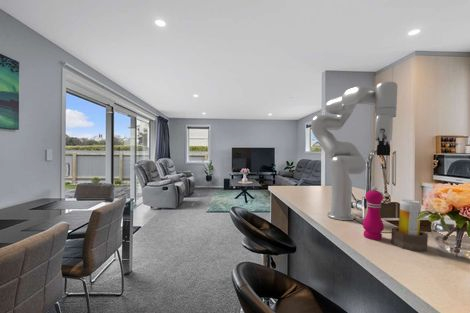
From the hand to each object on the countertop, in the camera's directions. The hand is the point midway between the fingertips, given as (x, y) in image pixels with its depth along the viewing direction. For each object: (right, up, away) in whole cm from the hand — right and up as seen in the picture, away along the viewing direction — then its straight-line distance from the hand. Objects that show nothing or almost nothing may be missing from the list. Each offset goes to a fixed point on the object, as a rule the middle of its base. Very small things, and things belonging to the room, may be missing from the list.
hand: (383, 155), depth 98 cm
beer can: (+2, -32, -11) cm, 34 cm away
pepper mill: (-7, -32, -4) cm, 33 cm away
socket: (+2, -33, -11) cm, 35 cm away
